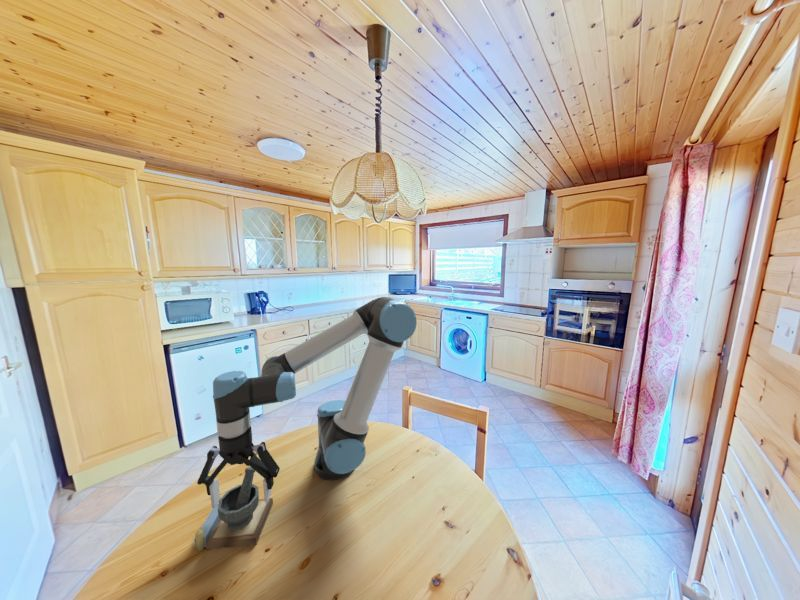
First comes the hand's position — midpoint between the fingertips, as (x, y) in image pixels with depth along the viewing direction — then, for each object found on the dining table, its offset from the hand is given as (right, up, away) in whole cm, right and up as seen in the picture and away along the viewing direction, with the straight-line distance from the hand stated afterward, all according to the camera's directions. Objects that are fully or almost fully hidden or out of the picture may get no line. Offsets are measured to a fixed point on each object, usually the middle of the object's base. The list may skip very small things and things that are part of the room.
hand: (242, 501), depth 74 cm
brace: (-8, -7, -1) cm, 11 cm away
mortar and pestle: (0, -5, +1) cm, 5 cm away
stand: (0, -7, +1) cm, 7 cm away
